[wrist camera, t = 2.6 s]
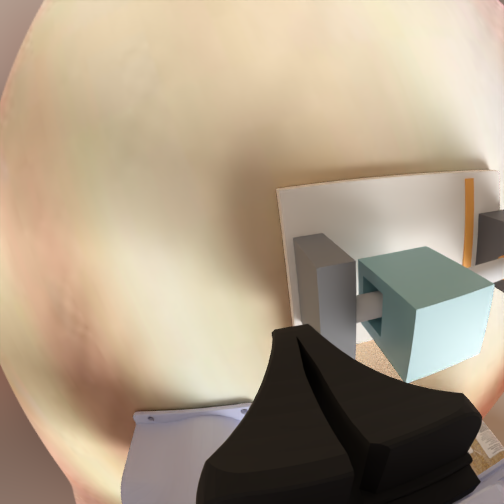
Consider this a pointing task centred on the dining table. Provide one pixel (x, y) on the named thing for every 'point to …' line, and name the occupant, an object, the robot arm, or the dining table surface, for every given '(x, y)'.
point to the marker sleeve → (425, 310)
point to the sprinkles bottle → (485, 450)
